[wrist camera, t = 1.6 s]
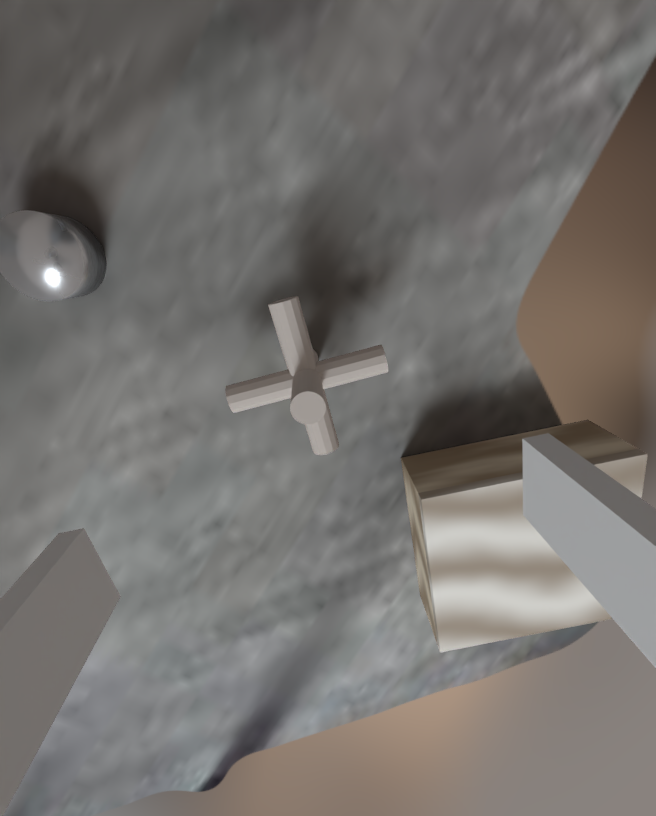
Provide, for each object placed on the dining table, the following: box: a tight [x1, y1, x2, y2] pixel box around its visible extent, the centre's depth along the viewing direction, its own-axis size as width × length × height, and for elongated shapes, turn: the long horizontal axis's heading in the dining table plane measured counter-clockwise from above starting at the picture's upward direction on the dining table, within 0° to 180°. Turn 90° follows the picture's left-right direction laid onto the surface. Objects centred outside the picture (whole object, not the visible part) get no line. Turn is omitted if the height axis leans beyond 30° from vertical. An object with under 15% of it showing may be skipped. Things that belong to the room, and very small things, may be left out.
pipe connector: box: [225, 296, 388, 455], centre depth 24 cm, size 10×10×10 cm
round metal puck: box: [0, 210, 106, 301], centre depth 24 cm, size 5×5×3 cm
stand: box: [401, 420, 648, 652], centre depth 32 cm, size 16×16×6 cm
